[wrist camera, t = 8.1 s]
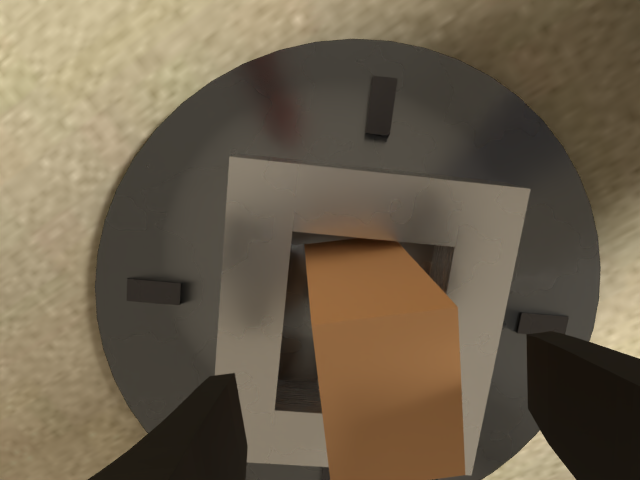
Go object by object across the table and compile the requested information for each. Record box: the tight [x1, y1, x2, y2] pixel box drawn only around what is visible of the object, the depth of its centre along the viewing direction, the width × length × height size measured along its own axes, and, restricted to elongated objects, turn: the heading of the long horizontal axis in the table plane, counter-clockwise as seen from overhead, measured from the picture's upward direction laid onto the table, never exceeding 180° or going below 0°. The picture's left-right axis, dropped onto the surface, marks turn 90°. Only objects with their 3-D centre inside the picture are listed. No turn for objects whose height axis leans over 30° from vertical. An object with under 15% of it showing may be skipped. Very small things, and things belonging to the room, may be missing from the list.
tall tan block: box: [304, 238, 465, 480], centre depth 14 cm, size 3×4×7 cm
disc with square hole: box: [95, 39, 600, 480], centre depth 16 cm, size 18×18×3 cm
